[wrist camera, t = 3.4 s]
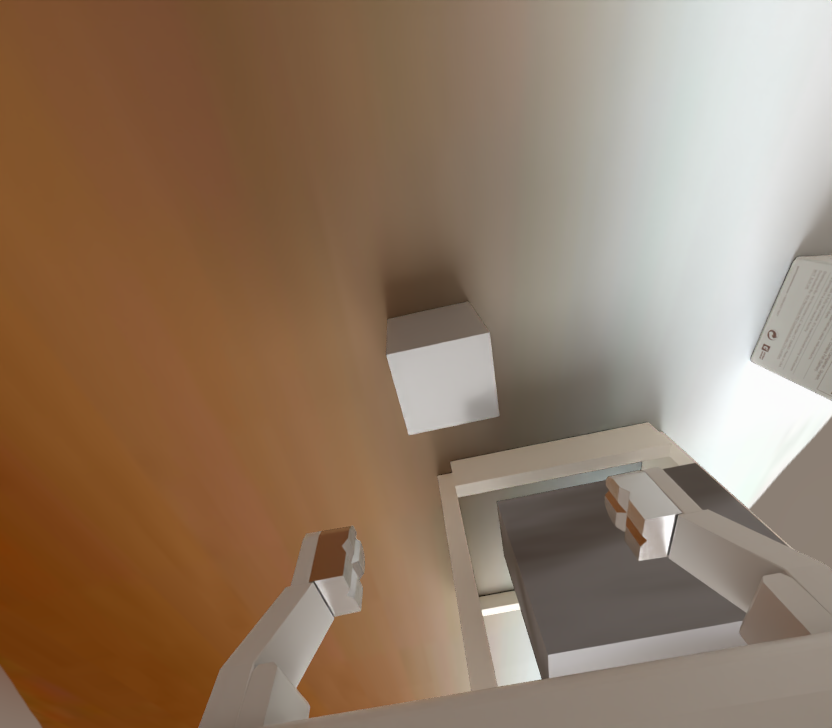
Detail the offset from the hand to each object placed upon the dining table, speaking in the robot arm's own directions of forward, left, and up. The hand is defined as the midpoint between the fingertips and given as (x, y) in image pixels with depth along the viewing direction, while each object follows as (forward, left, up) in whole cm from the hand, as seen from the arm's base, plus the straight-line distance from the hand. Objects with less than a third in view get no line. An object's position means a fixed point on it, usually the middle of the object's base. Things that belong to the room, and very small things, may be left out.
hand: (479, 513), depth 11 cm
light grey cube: (0, 0, -12) cm, 12 cm away
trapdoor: (+17, +7, -6) cm, 19 cm away
